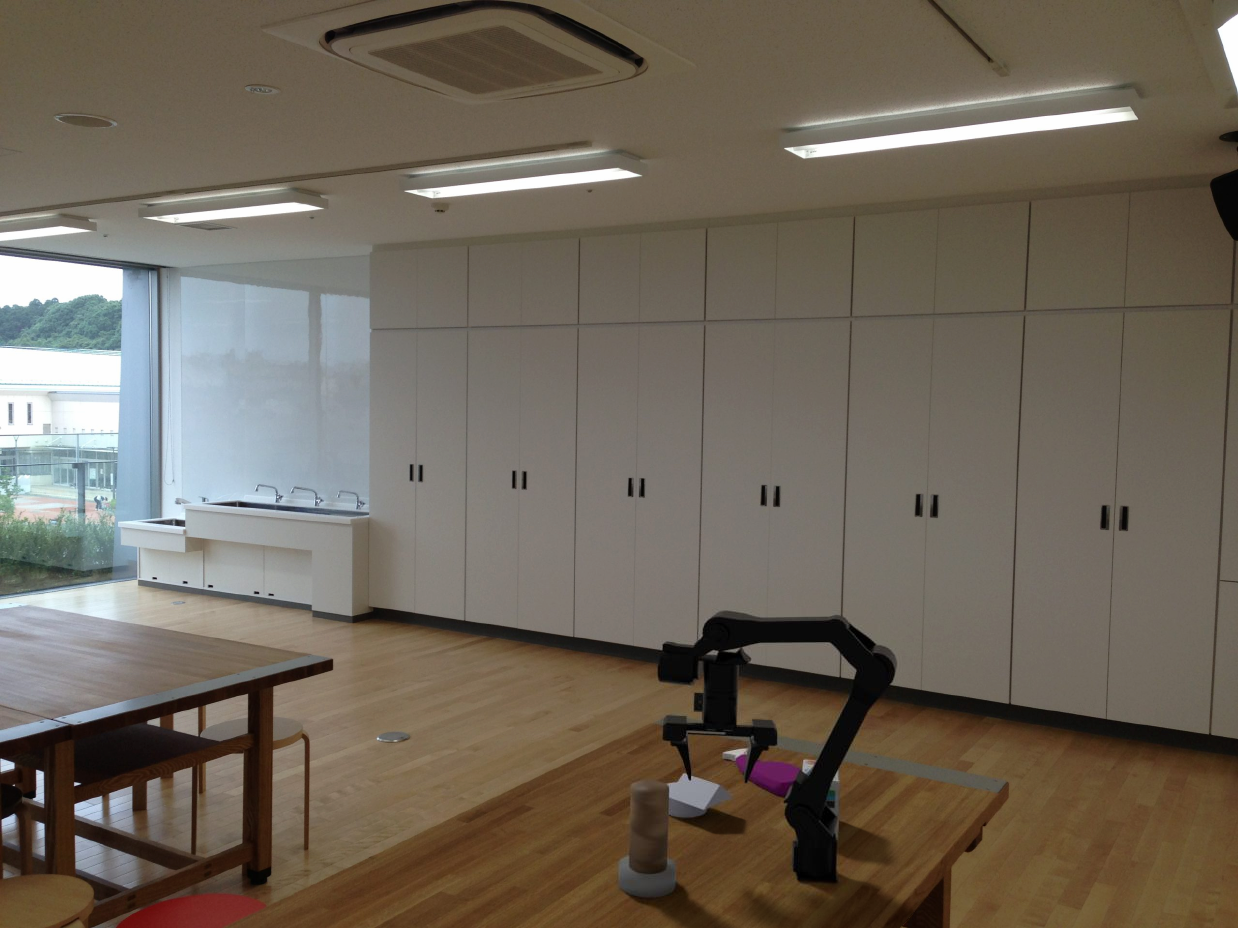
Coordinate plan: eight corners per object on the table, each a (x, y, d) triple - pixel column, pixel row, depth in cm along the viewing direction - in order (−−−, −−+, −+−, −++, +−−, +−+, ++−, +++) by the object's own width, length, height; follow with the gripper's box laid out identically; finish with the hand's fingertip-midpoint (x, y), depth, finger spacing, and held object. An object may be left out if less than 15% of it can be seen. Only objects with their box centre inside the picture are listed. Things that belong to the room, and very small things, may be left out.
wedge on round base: (733, 814, 190) (679, 795, 199) (734, 778, 190) (680, 761, 199) (703, 827, 184) (648, 807, 193) (704, 791, 184) (649, 772, 192)
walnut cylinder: (667, 858, 164) (669, 781, 163) (666, 874, 158) (668, 794, 157) (629, 856, 164) (631, 779, 164) (627, 872, 158) (629, 792, 158)
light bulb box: (838, 842, 179) (840, 781, 179) (799, 838, 181) (801, 777, 180) (837, 818, 190) (840, 761, 189) (800, 815, 191) (802, 758, 190)
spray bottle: (776, 799, 200) (711, 761, 222) (821, 791, 204) (753, 755, 226) (776, 784, 199) (711, 748, 222) (822, 776, 204) (754, 742, 226)
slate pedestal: (675, 872, 165) (676, 854, 165) (675, 898, 156) (675, 879, 156) (620, 869, 166) (620, 851, 166) (616, 895, 157) (616, 876, 157)
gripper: (773, 678, 177) (770, 767, 178) (665, 673, 179) (662, 761, 179) (779, 695, 166) (775, 790, 167) (663, 690, 168) (661, 784, 168)
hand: (717, 780), depth 171 cm, fingers open, 9 cm apart
